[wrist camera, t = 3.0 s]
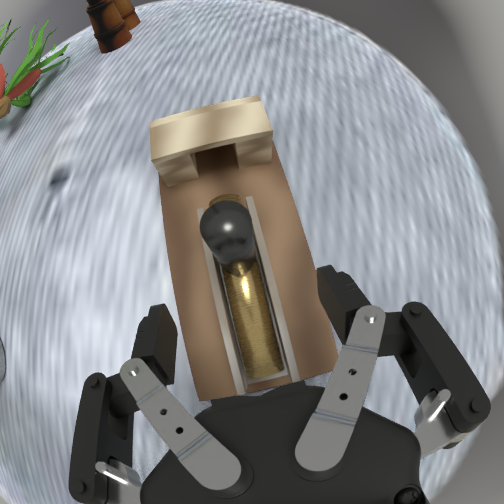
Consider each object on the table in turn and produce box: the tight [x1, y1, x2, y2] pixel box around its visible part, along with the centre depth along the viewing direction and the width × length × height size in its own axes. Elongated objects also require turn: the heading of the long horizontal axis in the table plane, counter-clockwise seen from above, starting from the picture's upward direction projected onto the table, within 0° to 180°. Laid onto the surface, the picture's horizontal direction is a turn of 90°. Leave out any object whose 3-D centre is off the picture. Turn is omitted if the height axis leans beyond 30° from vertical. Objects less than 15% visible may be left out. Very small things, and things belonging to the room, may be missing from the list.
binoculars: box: [87, 0, 140, 53], centre depth 35 cm, size 18×8×20 cm, turn 5°
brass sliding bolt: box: [200, 194, 284, 379], centre depth 20 cm, size 3×16×11 cm, turn 13°
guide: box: [150, 96, 338, 401], centre depth 25 cm, size 14×29×7 cm, turn 13°
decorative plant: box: [0, 19, 70, 119], centre depth 31 cm, size 26×25×30 cm
